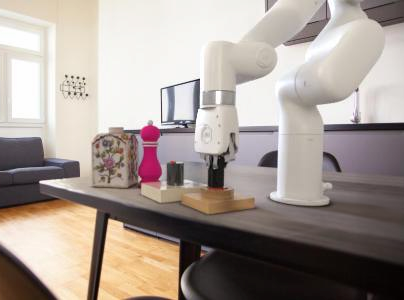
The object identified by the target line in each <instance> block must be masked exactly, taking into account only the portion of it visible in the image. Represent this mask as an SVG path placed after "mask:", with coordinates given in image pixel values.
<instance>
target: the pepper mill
mask: <svg viewBox="0 0 404 300" xmlns="http://www.w3.org/2000/svg"><path fill="white" fill-rule="evenodd" d="M139 137H140V139H141V140H142V142H141V147H142V148H143V149H142V150H143V155H142V159H141V161H140V163H139V169H138V175H139V178H140V180H139V187H140V188H141V183H150V182H161V180H160V178H161V177H162V176H163V169H162V165H161V162H160V161H159V158H158V153H157V152H158V147H159V141H158V140H159V139H160V137H161V131H160V129H159V127H157V126H156V125H154V121H153V120H152V119H148V120H147V125H145V126H143V127H142V128H141V129H140V132H139Z"/></svg>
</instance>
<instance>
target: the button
mask: <svg viewBox="0 0 404 300" xmlns="http://www.w3.org/2000/svg"><path fill="white" fill-rule="evenodd" d="M225 186H226V185H224V186H223V187H217V188H212V187H208V189H215V190H224V189H227V187H225Z"/></svg>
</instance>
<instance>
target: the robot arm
mask: <svg viewBox="0 0 404 300" xmlns="http://www.w3.org/2000/svg"><path fill="white" fill-rule="evenodd" d="M326 1H327V3H328V6H329V10H330V19H329V21H328V22H327V24H325V26H324V28H322V30H321V31H320V32H319V34H318V35H317V36H316V37H315V39H314V40H312V42H311V44H310V45H309V46H308V48H307V50H306V52H305V56H304V63H303V64H300V65H296V66H294V67H291V68H289V69H288V70H285V71H284V72H283V73H282V74H281V75H279V77H278V79H277V80H276V83H275V87H274V94H275V95H274V96H275V101H276V106H277V117H278V137H277V138H278V139H277V175H276V182H277V183H276V191H272V192H270V193H269V198H270V199H271V200H272V201H275V202H278V203H281V204H288V205H292V206H303V207H304V206H305V207H320V206H327V205H329V204H330V198H329V196H327V195H325V194H324V192H327V191H332V189H333V184H332V183H331V182H324V181H323V167H324V165H323V164H324V163H323V162H324V136H325V135H324V134H325V125H324V120H323V117H322V115H321V113H320V111H319V108H318V107H317V106H321V105H328V104H335V103H340V102H343V101H344V100H346V99H349V98H350V97H351V96H353V94H354V93H355V92H356V91H357V89H358V88H359V87H360V85H361V84H362V83H363V81H364V80H365V79H366V77H367V76H368V75H369V73H370V72H371V71H372V70H373V68H374V67H375V65H376V64H377V63H378V61H379V60H380V58H381V56H382V54H383V51H384V49H385V44H386V43H385V42H386V35H385V31H384V29H383V27H382V25H381V24H380V23H379V22H378V21H376V20H374V19H372V18H369V16H368V15H367V13H366V12H365V11H364V10H363V9H362V7H361V3H362V2H364V1H365V0H276V2H274V4H273V5H272V6H271V8H269V9H268V10H267V11H266V12H265V13H264V14H263V15H262V16H261V17H260V18H259V19H258V20H257V22H255V24H254V25H253V26H251V27H250V28H249V30H248V31H247V32H246V33H244V35H243V36H241V38H240V39H239V40H238V41H237V42H232V41H228V40H213V41H210V42H207V43H205V44H204V45H203V46H202V48H201V51H200V82H199V85H200V87H199V88H200V89H199V90H200V91H199V93H200V94H199V109H198V111H197V114H196V116H197V117H196V121H195V131H194V151H195V152H196V153H197V154H199V157H200V159H203V160H204V161H205V166H206V168H207V185H208V187H212V188H217V187H223V186H225V170H226V169H227V166H228V164H229V163H232V162H235V161H236V154H237V153H238V152H239V148H240V147H239V146H240V127H239V126H240V125H239V115H238V110H237V106H236V101H237V86H239V85H243V84H245V83H248V82H252V81H255V80H256V81H257V80H259V79H262V78H264V77H267V76H268V75H270V74H271V73H272V72H273V71H274V70H275V68H276V66H277V64H278V54H277V51H276V50H275V49H277V48H278V47H280V46H281V45H282V44H285V43H286V42H288V41H290V40H291V39H292V38H293V37H295V36H296V35H298V34H299V33H300V32H301V31H303V30H304V28H305V27H306V25H307V24H308V23H309V22H310V21H311V19H312V18H313V17H314V16H315V14H316V13H317V12H318V11H319V10H320V8H321V7H322V6H323V4H324V3H325V2H326Z"/></svg>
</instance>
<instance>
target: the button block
mask: <svg viewBox="0 0 404 300" xmlns="http://www.w3.org/2000/svg"><path fill="white" fill-rule="evenodd" d="M224 186H225V187H227V189H224V190H215V189H208V184H206V186H202V187H201V192H199V193H188V194H182V201H181V204H182V205H184V206H187V207H189V208H191V209H194V210H197V211H199V212H201V213H204V214H206V215H213V214H219V213H227V212H234V211H241V210H242V211H243V210H250V209H255V197H253V196H249V195H246V194H242V193H237V192H235V188H234V187H232V186H229V185H224Z"/></svg>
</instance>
